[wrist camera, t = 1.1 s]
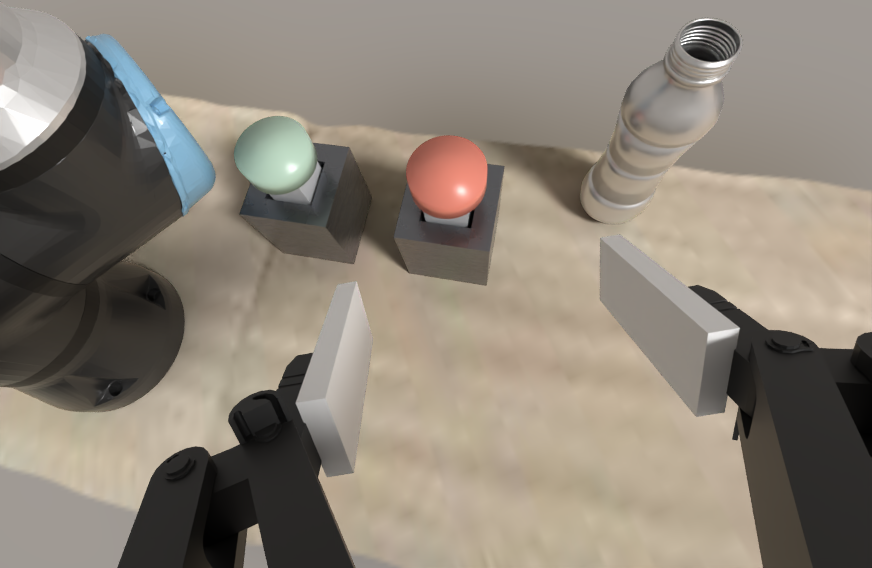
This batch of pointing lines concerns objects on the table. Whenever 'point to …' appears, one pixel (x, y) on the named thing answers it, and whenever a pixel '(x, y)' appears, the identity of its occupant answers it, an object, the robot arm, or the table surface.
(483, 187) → the red button
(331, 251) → the green button post
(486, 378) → the table surface
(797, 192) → the table surface
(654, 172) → the plastic bottle
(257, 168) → the green button
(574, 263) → the table surface
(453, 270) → the red button post
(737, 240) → the table surface
